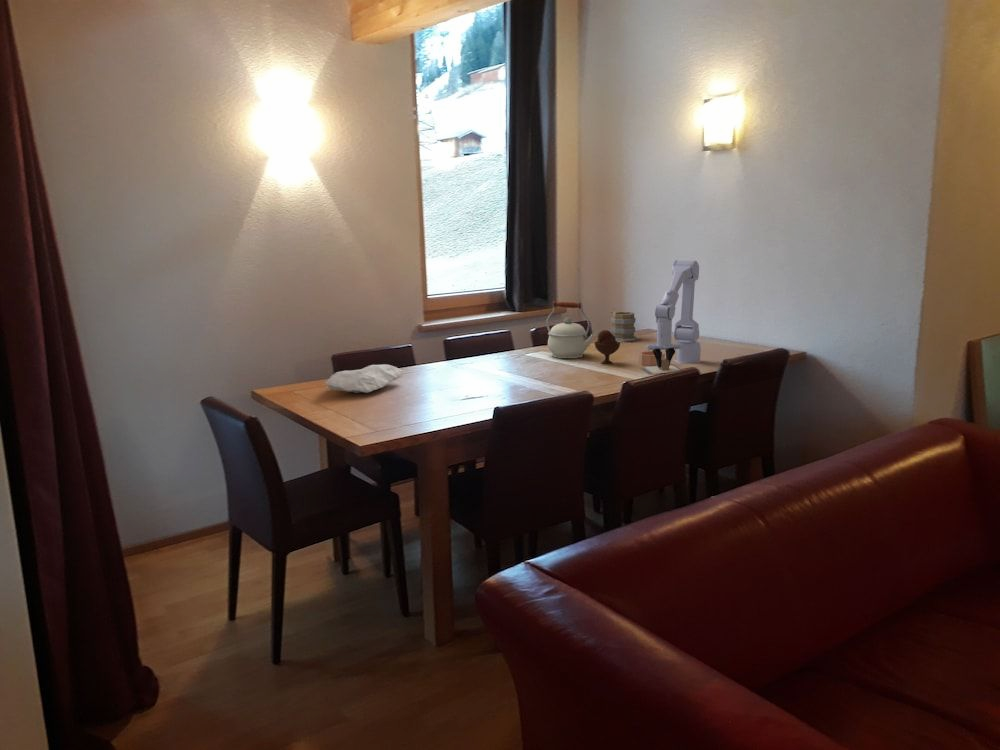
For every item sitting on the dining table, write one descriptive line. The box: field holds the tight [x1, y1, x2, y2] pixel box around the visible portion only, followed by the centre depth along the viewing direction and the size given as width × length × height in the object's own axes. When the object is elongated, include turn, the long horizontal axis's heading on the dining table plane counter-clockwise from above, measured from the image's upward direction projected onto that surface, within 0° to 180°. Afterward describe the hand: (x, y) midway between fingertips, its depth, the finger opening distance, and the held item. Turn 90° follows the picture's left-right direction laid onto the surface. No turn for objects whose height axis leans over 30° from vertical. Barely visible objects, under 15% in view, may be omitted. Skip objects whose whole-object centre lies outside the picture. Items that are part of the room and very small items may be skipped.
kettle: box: [545, 300, 596, 359], centre depth 343 cm, size 25×18×25 cm
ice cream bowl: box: [594, 329, 621, 365], centre depth 326 cm, size 11×11×15 cm
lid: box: [643, 357, 679, 375], centre depth 310 cm, size 12×12×5 cm
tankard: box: [609, 308, 637, 343], centre depth 387 cm, size 20×13×15 cm, turn 16°
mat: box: [639, 366, 681, 376], centre depth 310 cm, size 16×12×1 cm
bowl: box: [638, 350, 666, 367], centre depth 323 cm, size 10×10×5 cm
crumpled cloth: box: [324, 363, 404, 394], centre depth 288 cm, size 24×35×9 cm
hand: (663, 366), depth 310 cm, fingers closed on lid, 3 cm apart
